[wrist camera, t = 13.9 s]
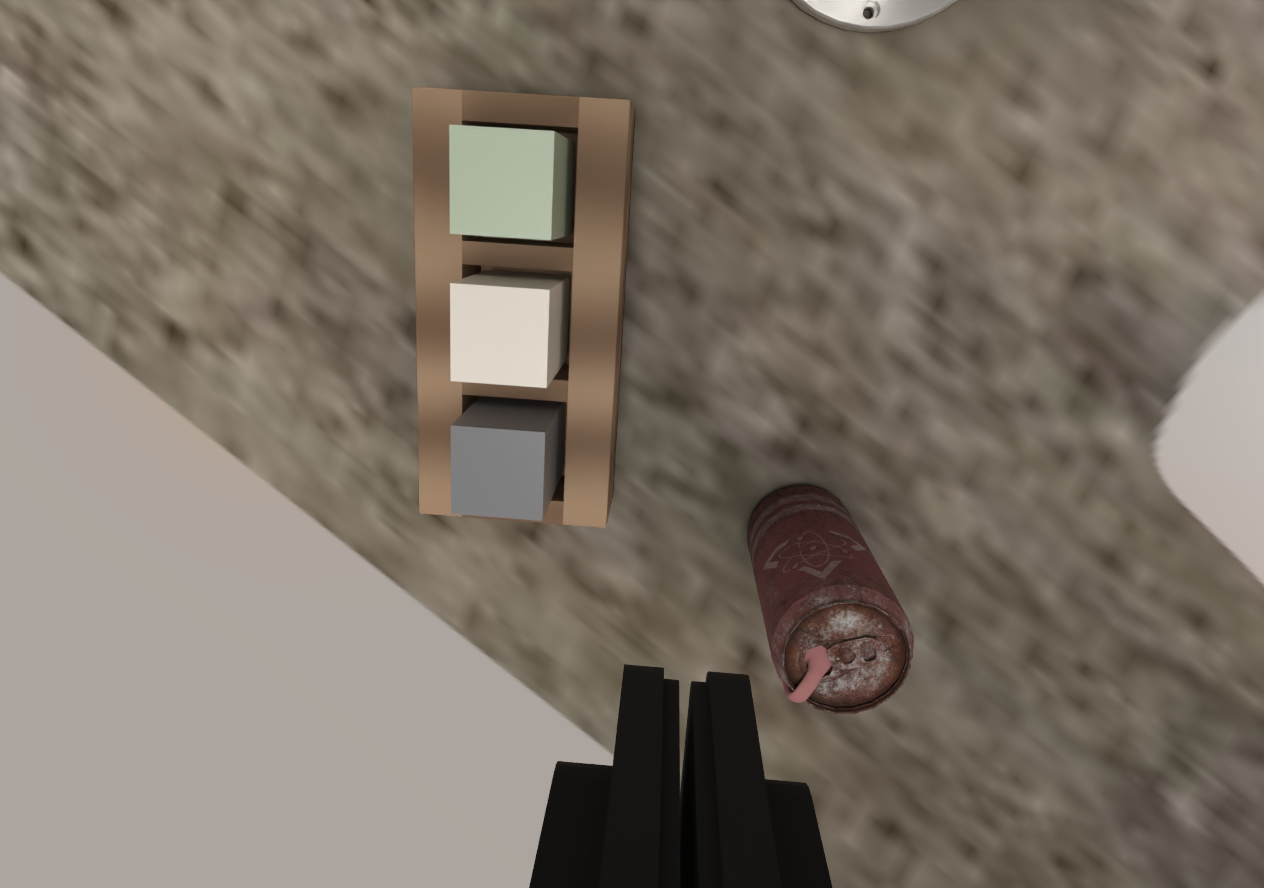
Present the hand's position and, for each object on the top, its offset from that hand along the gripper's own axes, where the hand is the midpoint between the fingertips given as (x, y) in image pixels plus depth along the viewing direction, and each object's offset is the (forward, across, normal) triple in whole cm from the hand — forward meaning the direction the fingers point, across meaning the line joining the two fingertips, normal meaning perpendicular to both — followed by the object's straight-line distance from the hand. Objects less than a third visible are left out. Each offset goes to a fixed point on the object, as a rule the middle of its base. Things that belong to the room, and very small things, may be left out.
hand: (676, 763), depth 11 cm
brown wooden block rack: (+35, +8, -1) cm, 36 cm away
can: (+35, -8, +11) cm, 38 cm away
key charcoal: (+33, +8, +5) cm, 34 cm away
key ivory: (+33, +8, -1) cm, 34 cm away
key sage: (+33, +8, -7) cm, 35 cm away
